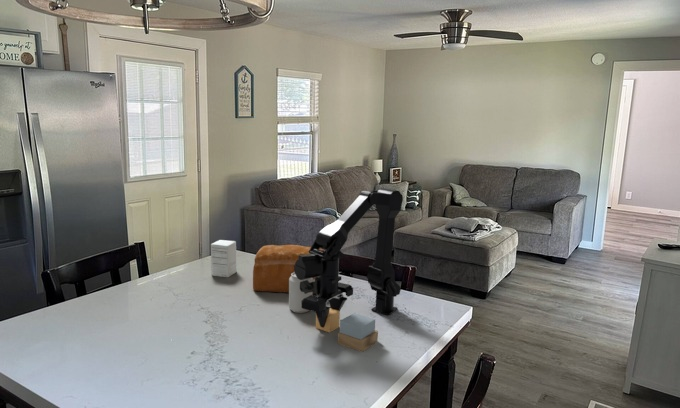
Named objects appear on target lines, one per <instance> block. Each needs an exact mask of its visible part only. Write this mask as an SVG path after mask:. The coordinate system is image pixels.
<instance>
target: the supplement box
mask: <svg viewBox="0 0 680 408" xmlns="http://www.w3.org/2000/svg"><path fill="white" fill-rule="evenodd" d="M210 264H211V265H210V268H211V276H215V277H222V278H229V277H231V276H232V275H234V274H235V273H237V272H238V271H237V270H238V269H237V241H236V240H225V239H218V240H216V241H215V242H212V243H210Z"/></svg>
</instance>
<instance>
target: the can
mask: <svg viewBox="0 0 680 408" xmlns="http://www.w3.org/2000/svg"><path fill="white" fill-rule="evenodd" d="M305 280H308V281H309V280H313V278H309V279H304V281H305ZM301 281H303V280H299V279H298V278H297V277H296V275H295V272H294V273H292V274H291V277H290V278H289V293H288V308H289V309H290V311H292V312H294V313H297V314H304V313H307V312H309V311H310V310H306V309H303V308H301V301H302V300H303V299H304V298H306V297H308V296H310V295H312V296H313V294H312V292H309V293H307V294H304V292H301V291H300V282H301Z"/></svg>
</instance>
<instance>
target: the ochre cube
mask: <svg viewBox="0 0 680 408" xmlns="http://www.w3.org/2000/svg"><path fill="white" fill-rule="evenodd" d="M340 312H341V310H340V311H339V310H335V309H332V308H330V310H329V313H328V317H327V320H326V323H325V326H324V327H321V326H320V324H319V321H318V318H317V315H316V314H315V329H318V330H320V331H325V332H328V333H331V332H333V331H335V330H336V329H338V328H340V318H341V317H340V316H341V314H340Z"/></svg>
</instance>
